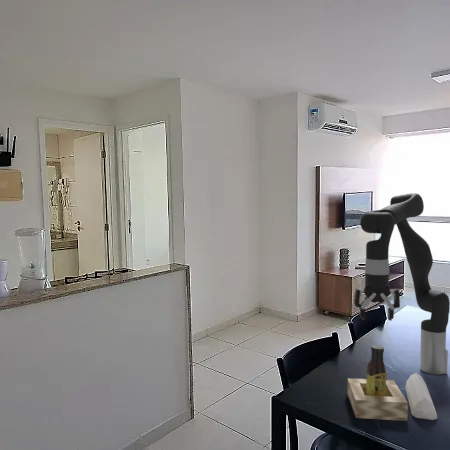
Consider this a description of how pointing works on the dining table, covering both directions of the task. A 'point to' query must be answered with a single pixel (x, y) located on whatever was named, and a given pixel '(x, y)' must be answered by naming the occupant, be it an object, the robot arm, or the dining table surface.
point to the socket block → (377, 401)
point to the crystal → (419, 398)
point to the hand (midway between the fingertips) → (376, 319)
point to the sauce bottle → (376, 373)
